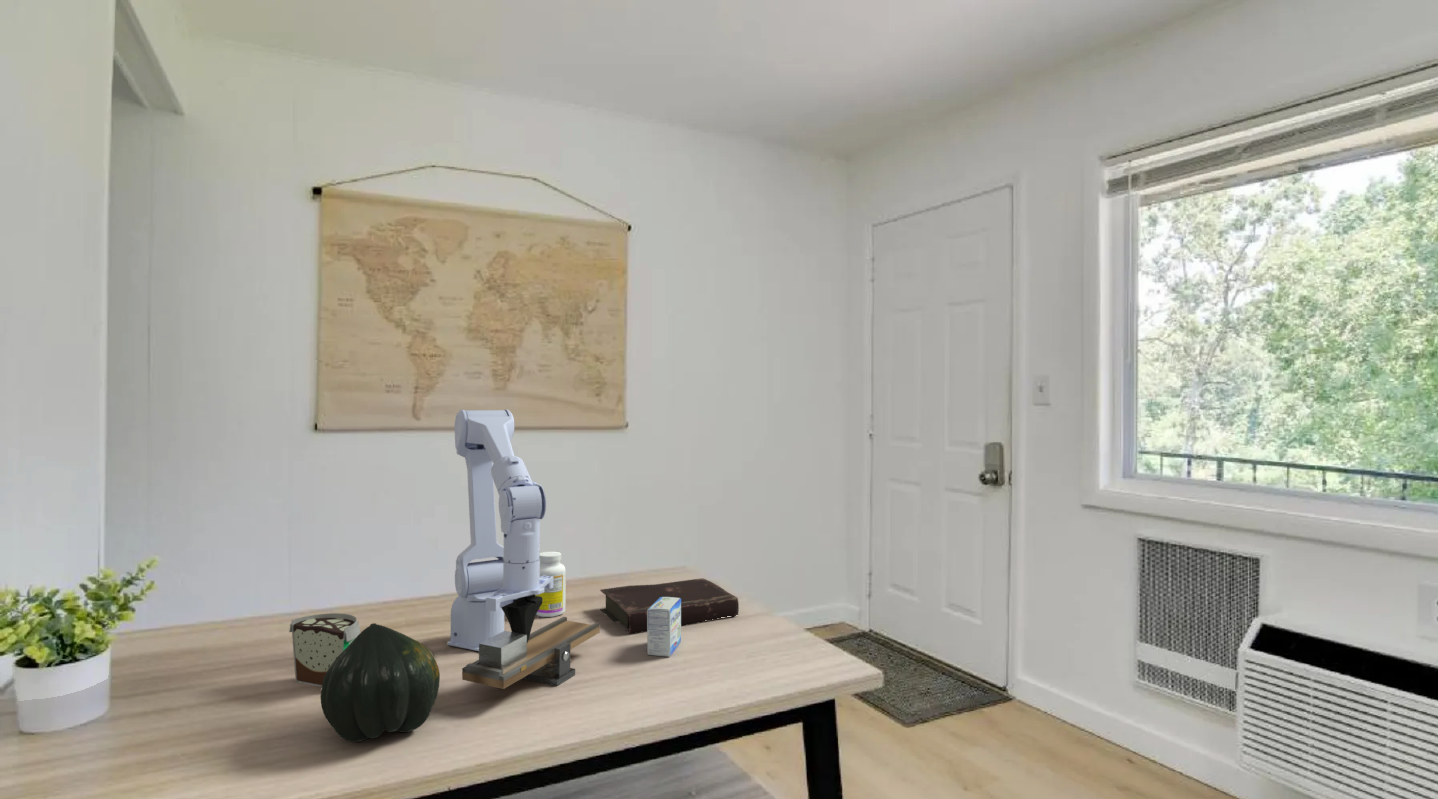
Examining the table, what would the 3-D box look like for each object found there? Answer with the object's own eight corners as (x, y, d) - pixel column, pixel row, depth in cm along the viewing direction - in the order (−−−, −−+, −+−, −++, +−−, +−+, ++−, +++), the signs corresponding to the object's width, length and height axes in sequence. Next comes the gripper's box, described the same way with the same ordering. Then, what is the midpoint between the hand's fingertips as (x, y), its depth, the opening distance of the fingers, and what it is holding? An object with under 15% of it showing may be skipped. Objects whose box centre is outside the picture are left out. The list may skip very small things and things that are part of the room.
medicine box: (670, 657, 126) (670, 610, 126) (646, 655, 127) (646, 608, 127) (681, 642, 134) (681, 597, 134) (658, 640, 135) (659, 595, 135)
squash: (422, 717, 91) (434, 607, 100) (295, 732, 87) (319, 617, 97) (440, 748, 101) (449, 646, 111) (327, 762, 98) (346, 656, 108)
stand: (498, 673, 118) (498, 640, 118) (517, 663, 123) (518, 631, 123) (557, 686, 113) (557, 651, 113) (575, 674, 118) (575, 641, 118)
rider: (478, 668, 109) (478, 643, 109) (505, 654, 114) (504, 630, 114) (501, 673, 107) (501, 647, 107) (526, 659, 113) (526, 634, 112)
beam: (461, 679, 108) (461, 664, 108) (563, 626, 132) (563, 613, 132) (504, 689, 104) (504, 673, 104) (600, 632, 128) (600, 619, 128)
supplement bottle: (542, 607, 154) (542, 549, 154) (570, 609, 153) (571, 551, 153) (528, 616, 148) (528, 556, 148) (557, 619, 146) (558, 558, 146)
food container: (377, 677, 116) (378, 617, 116) (347, 692, 110) (347, 628, 110) (321, 666, 120) (321, 608, 120) (288, 680, 114) (289, 619, 114)
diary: (739, 620, 149) (739, 597, 149) (629, 639, 138) (629, 613, 137) (699, 596, 166) (700, 575, 166) (598, 610, 154) (598, 588, 154)
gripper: (511, 572, 106) (511, 662, 106) (568, 552, 119) (567, 632, 119) (475, 567, 109) (474, 654, 109) (534, 548, 122) (534, 626, 122)
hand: (521, 642), depth 114 cm, fingers closed
